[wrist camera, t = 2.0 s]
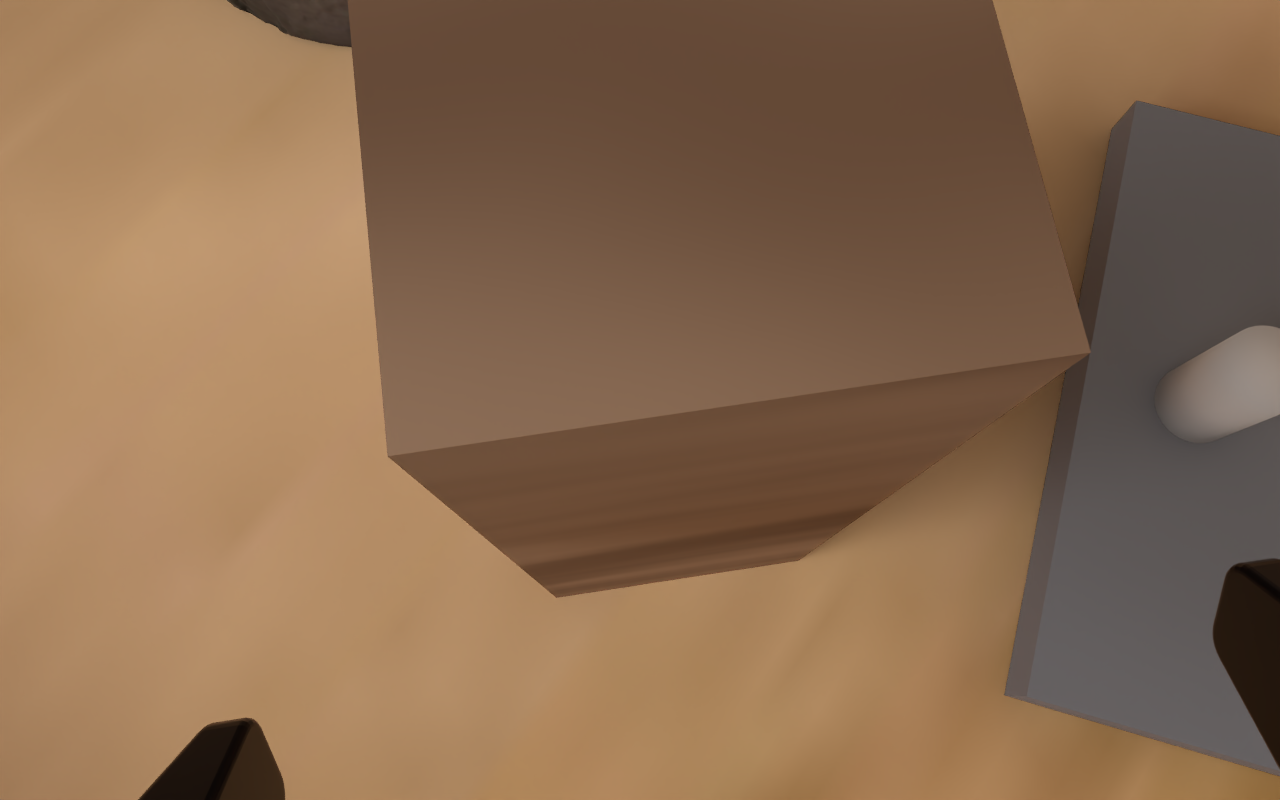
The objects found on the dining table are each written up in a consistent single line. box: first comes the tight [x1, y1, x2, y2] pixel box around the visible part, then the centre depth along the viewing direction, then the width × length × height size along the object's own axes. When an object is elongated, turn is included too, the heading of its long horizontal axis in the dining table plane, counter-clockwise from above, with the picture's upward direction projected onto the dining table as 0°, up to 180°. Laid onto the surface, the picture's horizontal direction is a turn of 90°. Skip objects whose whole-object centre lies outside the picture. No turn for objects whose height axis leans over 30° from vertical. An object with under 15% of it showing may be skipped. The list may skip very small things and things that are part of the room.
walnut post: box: [348, 0, 1091, 598], centre depth 14 cm, size 5×5×14 cm
